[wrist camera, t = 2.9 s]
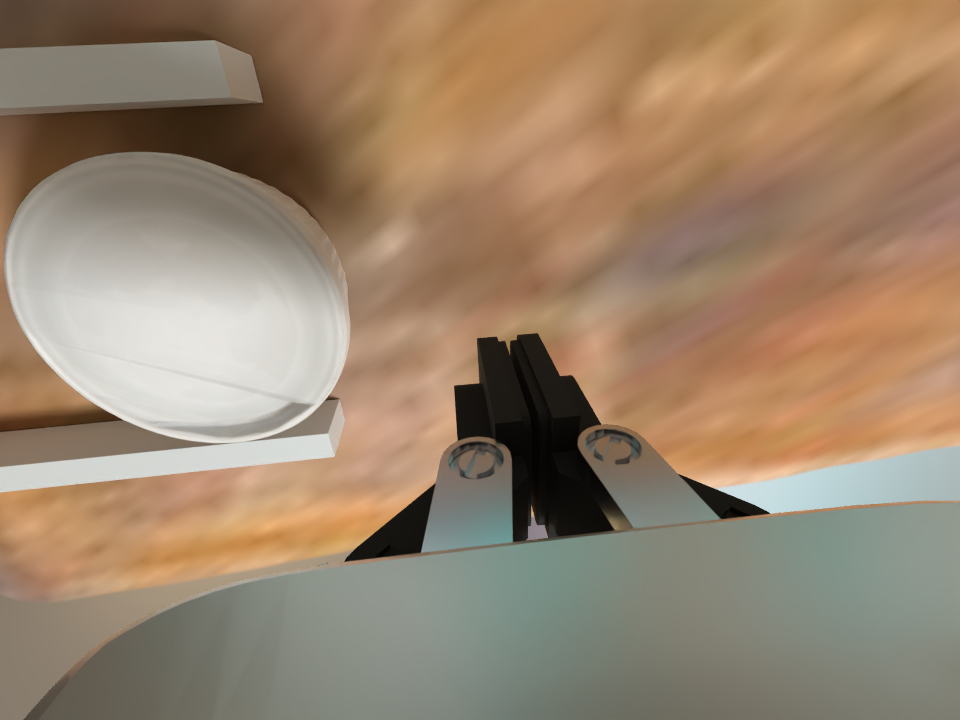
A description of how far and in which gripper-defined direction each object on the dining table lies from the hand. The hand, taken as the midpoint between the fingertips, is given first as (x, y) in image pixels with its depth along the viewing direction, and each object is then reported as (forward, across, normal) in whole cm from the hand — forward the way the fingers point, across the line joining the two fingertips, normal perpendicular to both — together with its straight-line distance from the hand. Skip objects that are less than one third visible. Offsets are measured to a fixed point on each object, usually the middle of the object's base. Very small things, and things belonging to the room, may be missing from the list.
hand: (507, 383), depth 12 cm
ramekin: (+10, +11, -1) cm, 15 cm away
